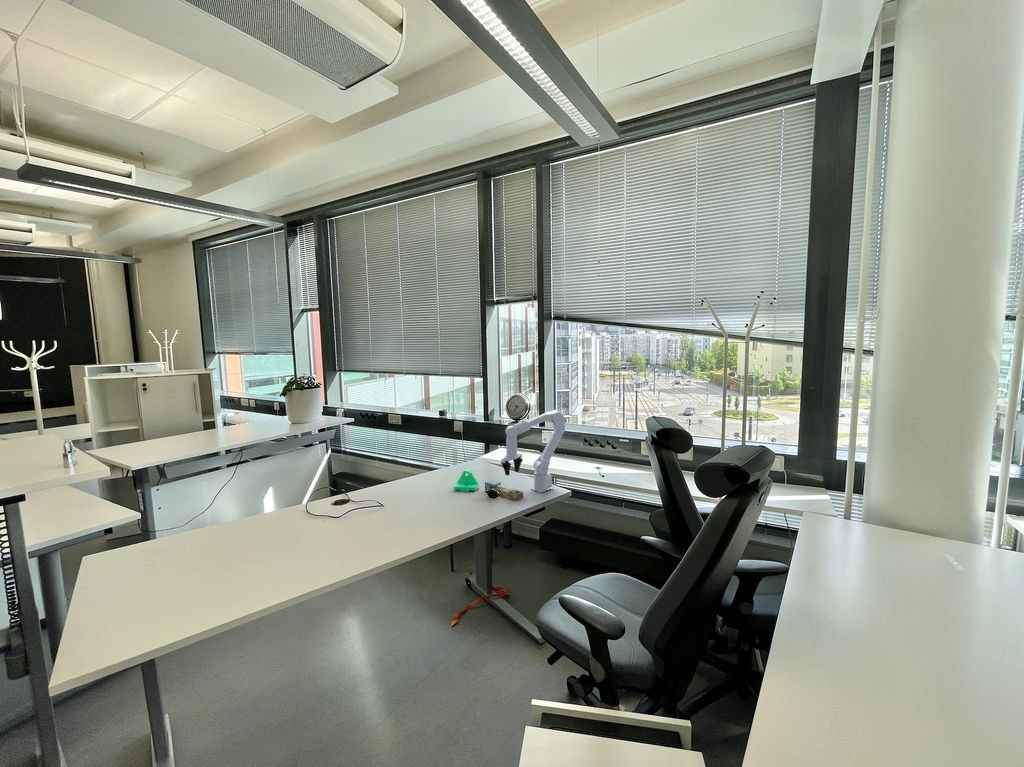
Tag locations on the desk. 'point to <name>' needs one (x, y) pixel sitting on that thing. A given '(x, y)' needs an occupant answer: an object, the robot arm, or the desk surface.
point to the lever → (508, 493)
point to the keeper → (491, 484)
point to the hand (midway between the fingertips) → (512, 473)
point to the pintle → (514, 491)
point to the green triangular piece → (466, 482)
